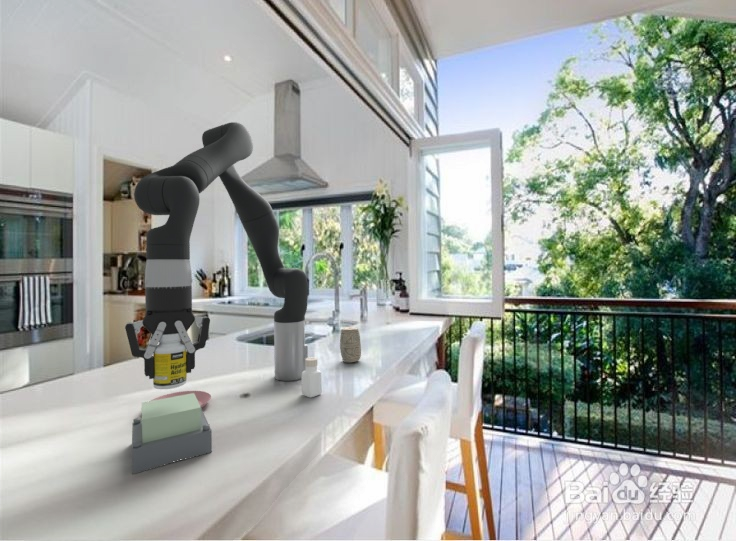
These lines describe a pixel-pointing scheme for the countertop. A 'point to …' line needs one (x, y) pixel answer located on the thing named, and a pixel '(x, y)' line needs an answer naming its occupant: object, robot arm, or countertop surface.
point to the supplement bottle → (170, 362)
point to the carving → (350, 344)
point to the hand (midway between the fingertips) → (170, 374)
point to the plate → (200, 395)
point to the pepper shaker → (311, 378)
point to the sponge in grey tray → (169, 432)
